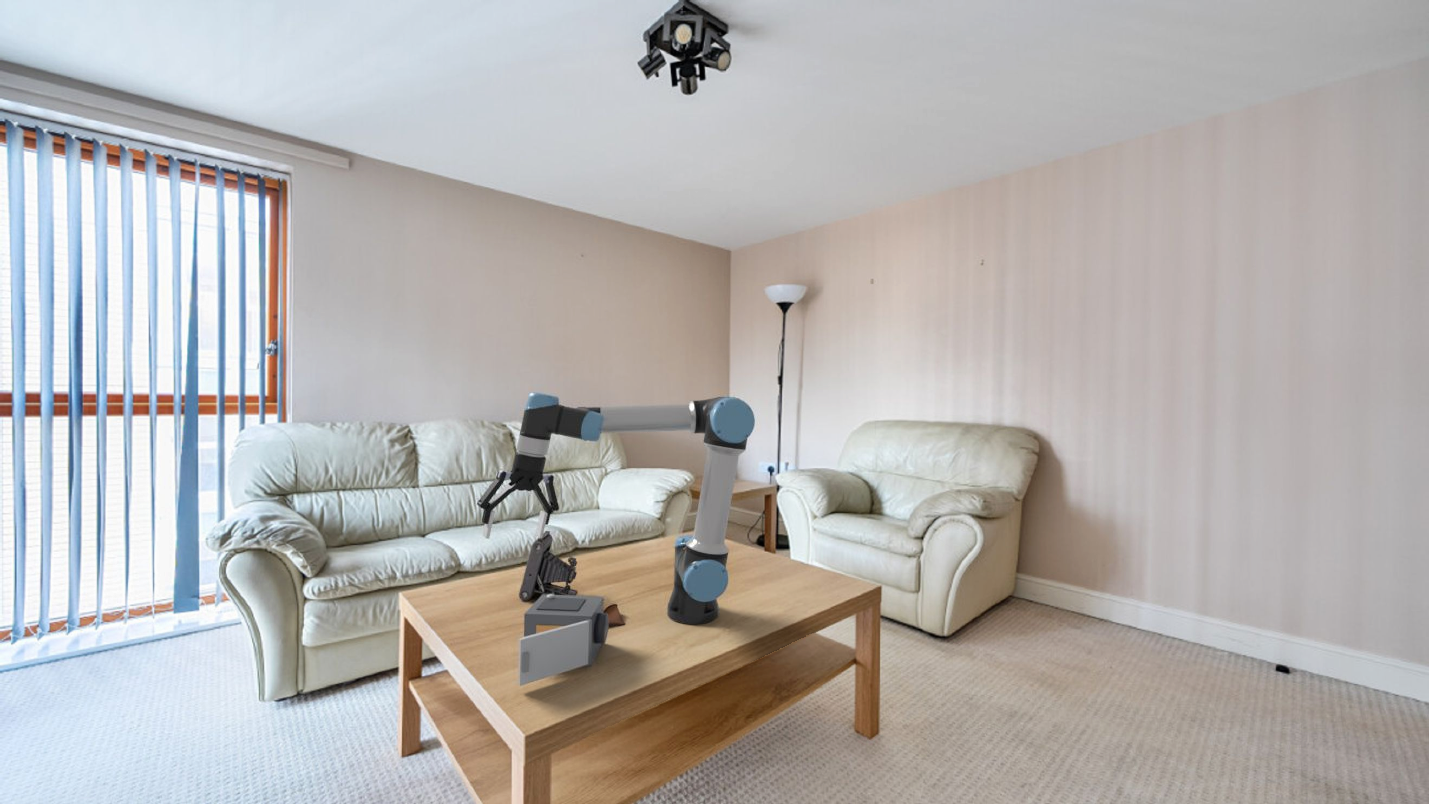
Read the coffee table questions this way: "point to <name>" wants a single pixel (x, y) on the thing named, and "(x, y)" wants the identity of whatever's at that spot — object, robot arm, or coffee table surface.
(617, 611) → the sunglasses case
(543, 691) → the coffee table surface
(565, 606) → the panel
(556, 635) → the door
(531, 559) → the camera
